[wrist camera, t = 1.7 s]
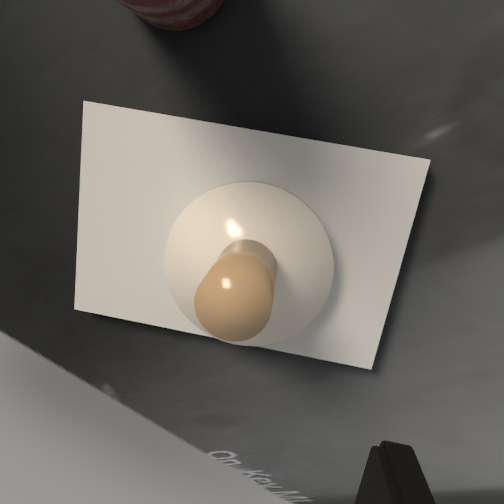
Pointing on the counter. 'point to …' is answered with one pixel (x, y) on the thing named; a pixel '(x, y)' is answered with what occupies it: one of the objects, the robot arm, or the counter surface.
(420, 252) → the counter surface
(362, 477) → the robot arm
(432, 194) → the counter surface
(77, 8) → the counter surface
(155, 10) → the can
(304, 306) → the lid
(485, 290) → the counter surface
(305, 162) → the mat
